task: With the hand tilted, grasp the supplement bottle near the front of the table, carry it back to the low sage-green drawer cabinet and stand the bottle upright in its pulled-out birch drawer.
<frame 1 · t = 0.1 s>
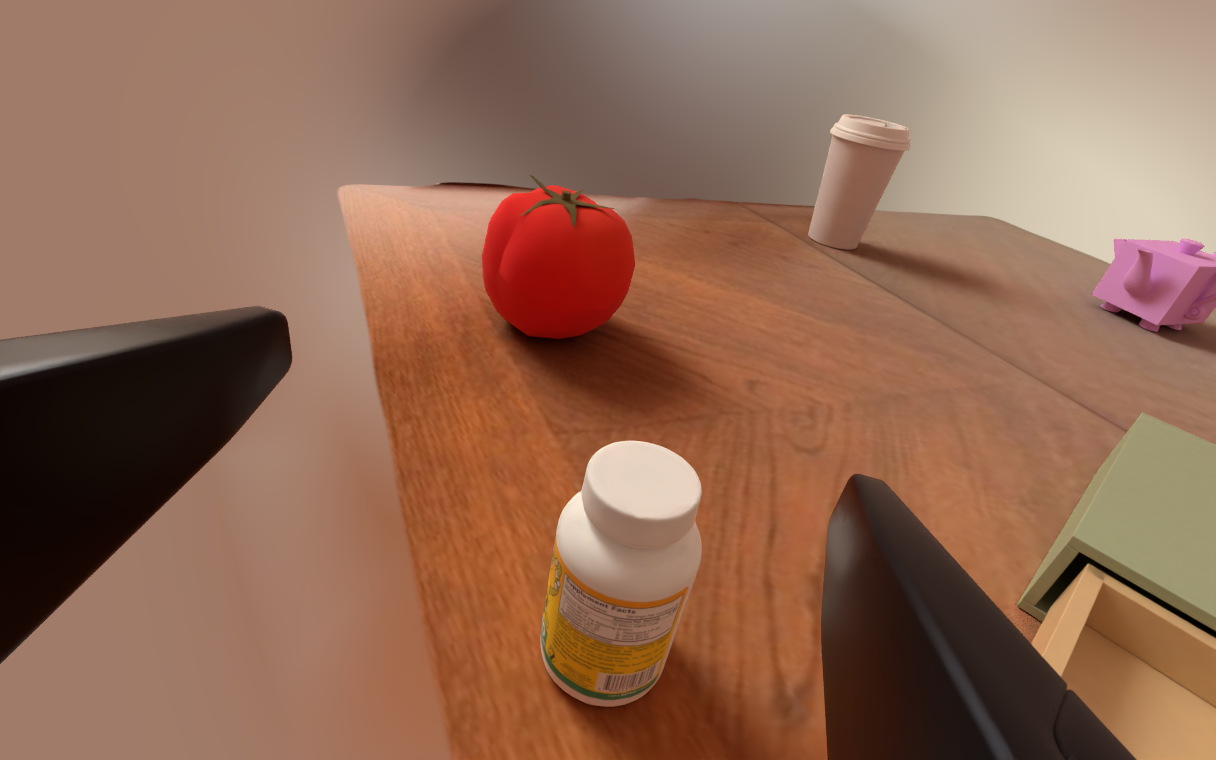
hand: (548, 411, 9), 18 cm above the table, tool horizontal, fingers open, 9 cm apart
cabinet: (1182, 595, 34), on the table
tomato: (550, 328, 49), on the table
teapot: (1133, 316, 75), on the table
supplement bottle: (601, 650, 26), on the table
coffee cup: (831, 241, 82), on the table
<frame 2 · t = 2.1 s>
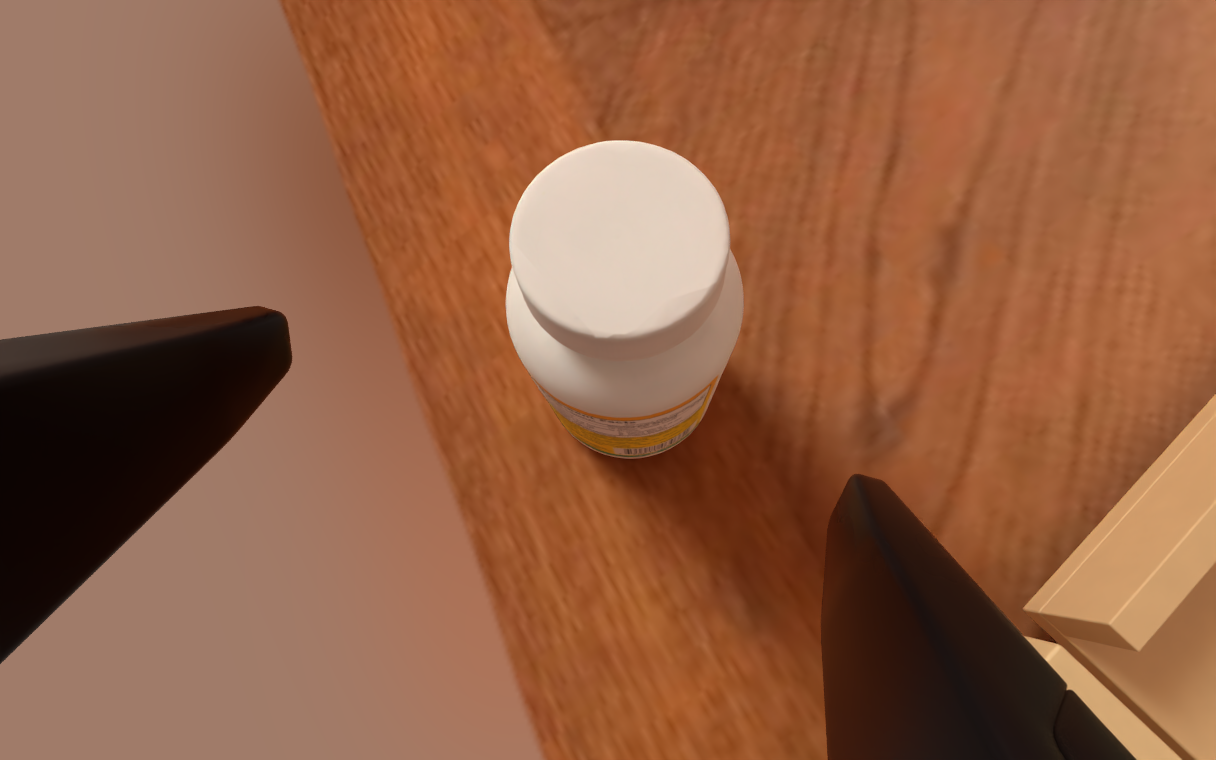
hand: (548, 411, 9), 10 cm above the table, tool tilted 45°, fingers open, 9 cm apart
supplement bottle: (631, 380, 20), on the table
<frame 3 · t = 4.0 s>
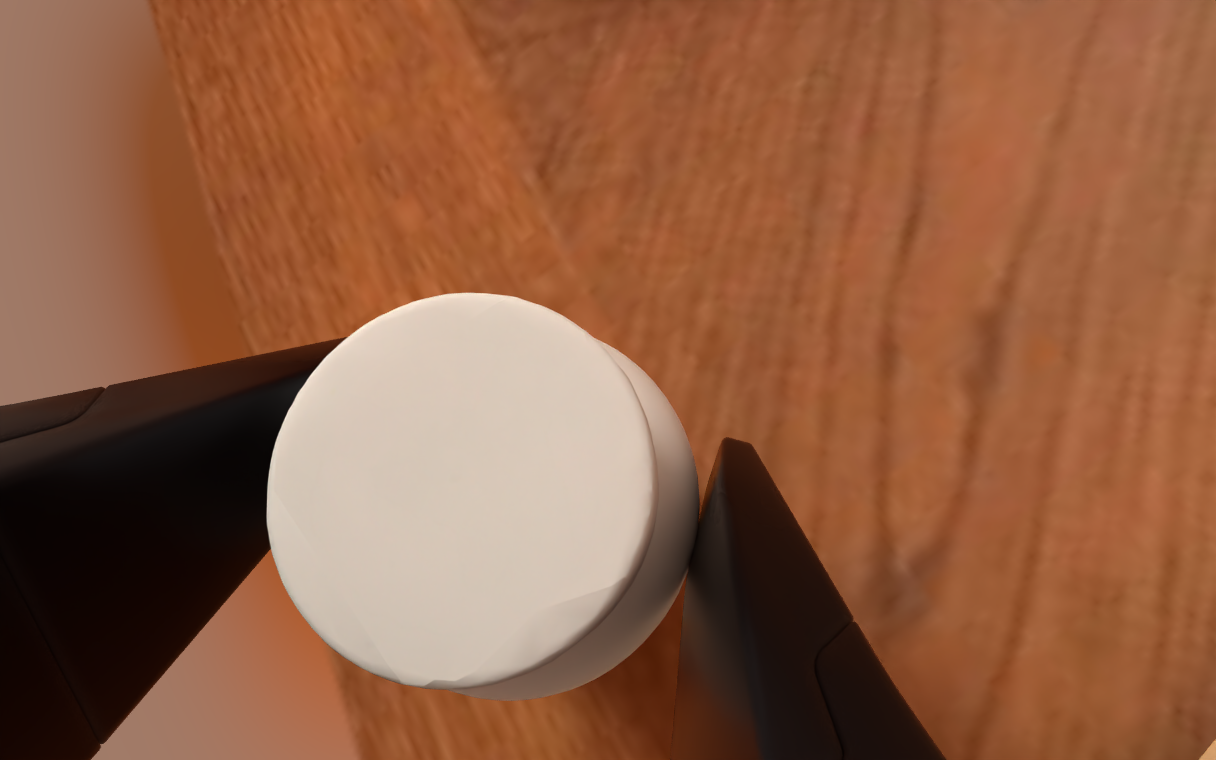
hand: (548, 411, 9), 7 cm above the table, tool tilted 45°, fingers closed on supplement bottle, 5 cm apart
supplement bottle: (572, 517, 15), on the table, touching gripper
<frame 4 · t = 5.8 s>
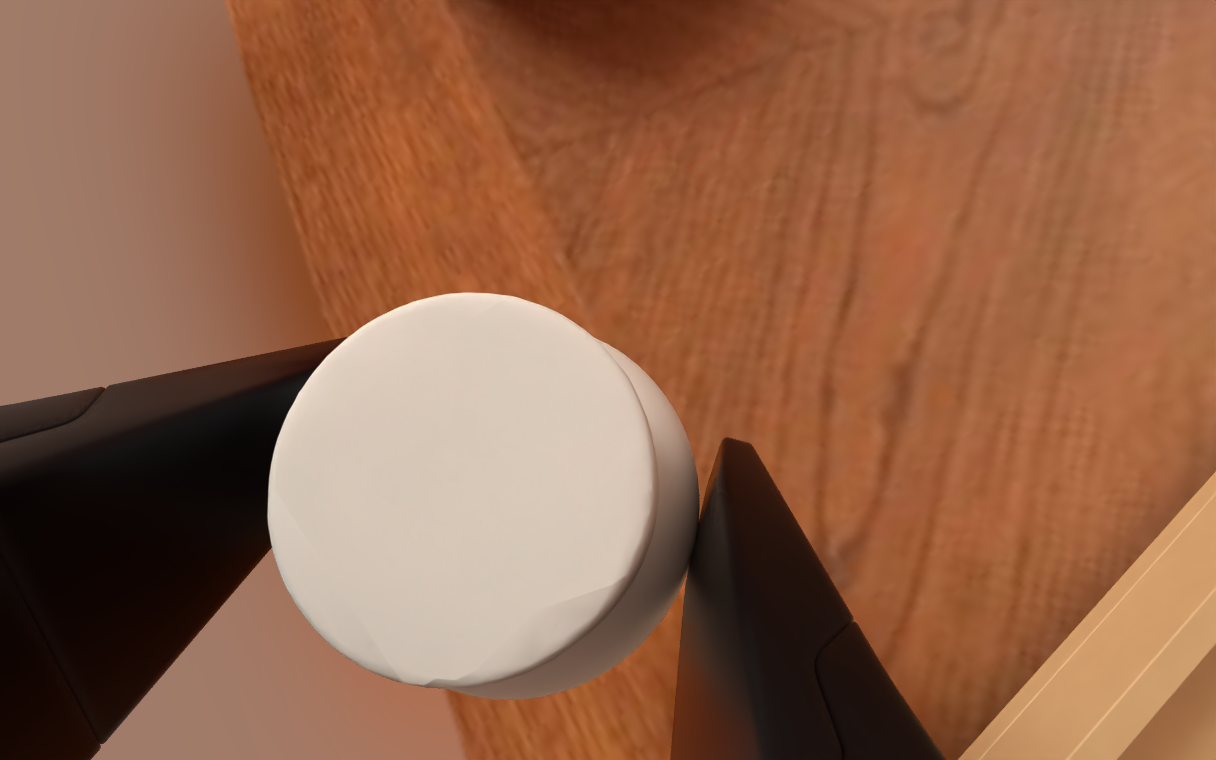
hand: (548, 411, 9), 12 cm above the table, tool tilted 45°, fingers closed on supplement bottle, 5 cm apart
supplement bottle: (572, 516, 16), point 6 cm above the table, touching gripper
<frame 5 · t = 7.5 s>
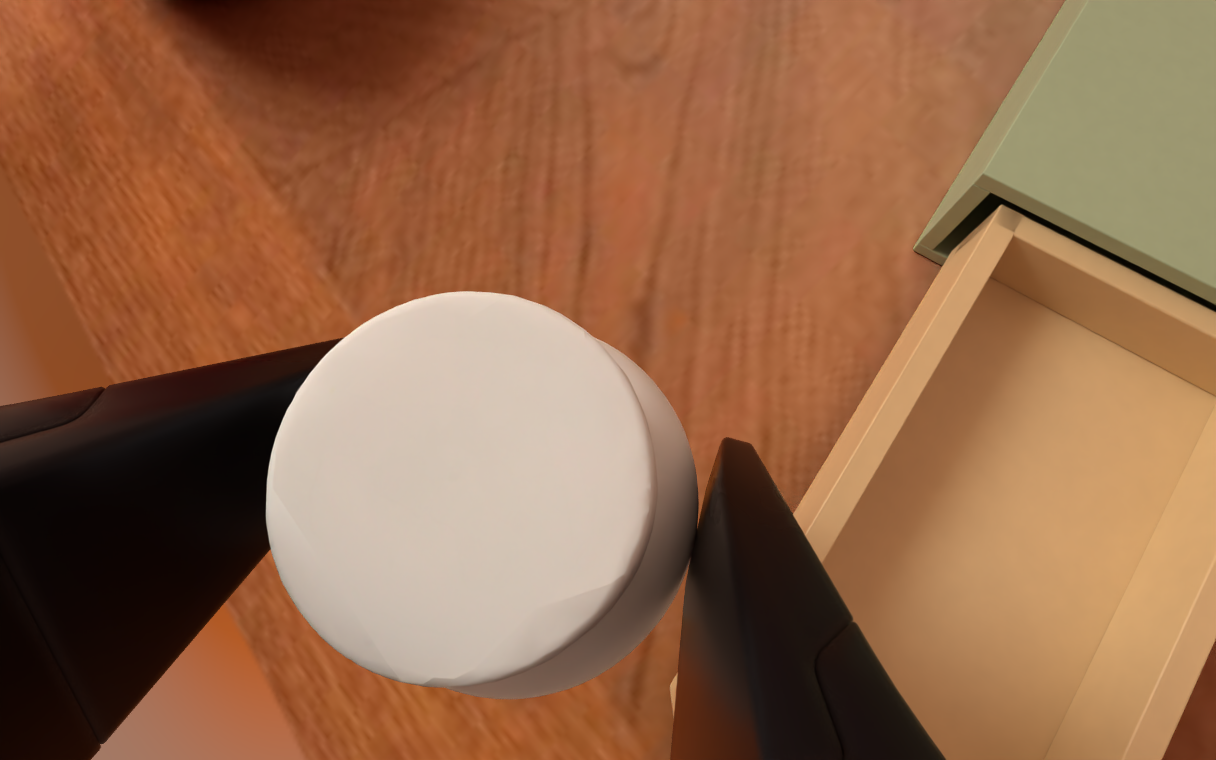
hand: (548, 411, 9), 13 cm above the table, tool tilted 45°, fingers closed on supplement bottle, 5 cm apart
cabinet: (1170, 136, 24), on the table
drawer: (959, 602, 18), point 3 cm above the table, slide at 17.0 cm
supplement bottle: (571, 516, 15), point 7 cm above the table, touching gripper
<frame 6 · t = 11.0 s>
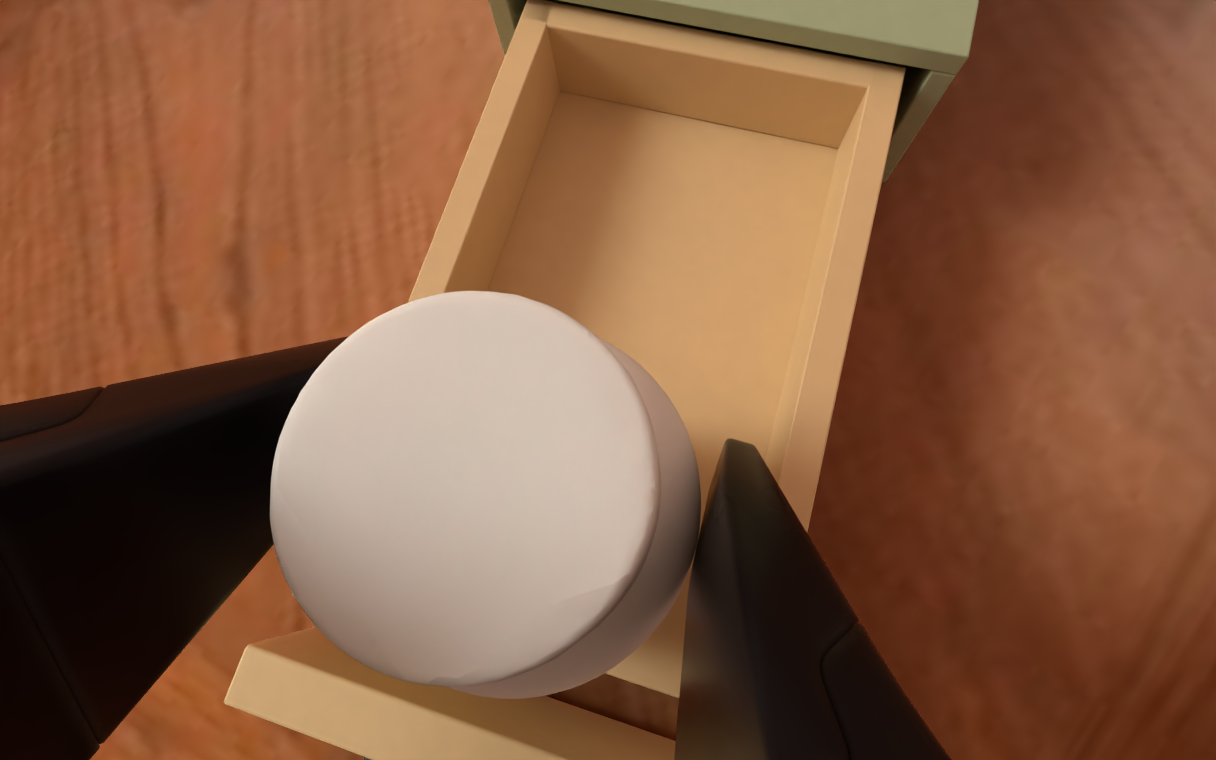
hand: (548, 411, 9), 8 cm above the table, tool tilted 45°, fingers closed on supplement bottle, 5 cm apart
drawer: (590, 452, 15), point 3 cm above the table, slide at 16.8 cm, touching supplement bottle
supplement bottle: (573, 516, 15), point 2 cm above the table, touching drawer, gripper
when the fingers open (8 cm above the table, at t = 11.1 s): supplement bottle stays where it is, resting on drawer.
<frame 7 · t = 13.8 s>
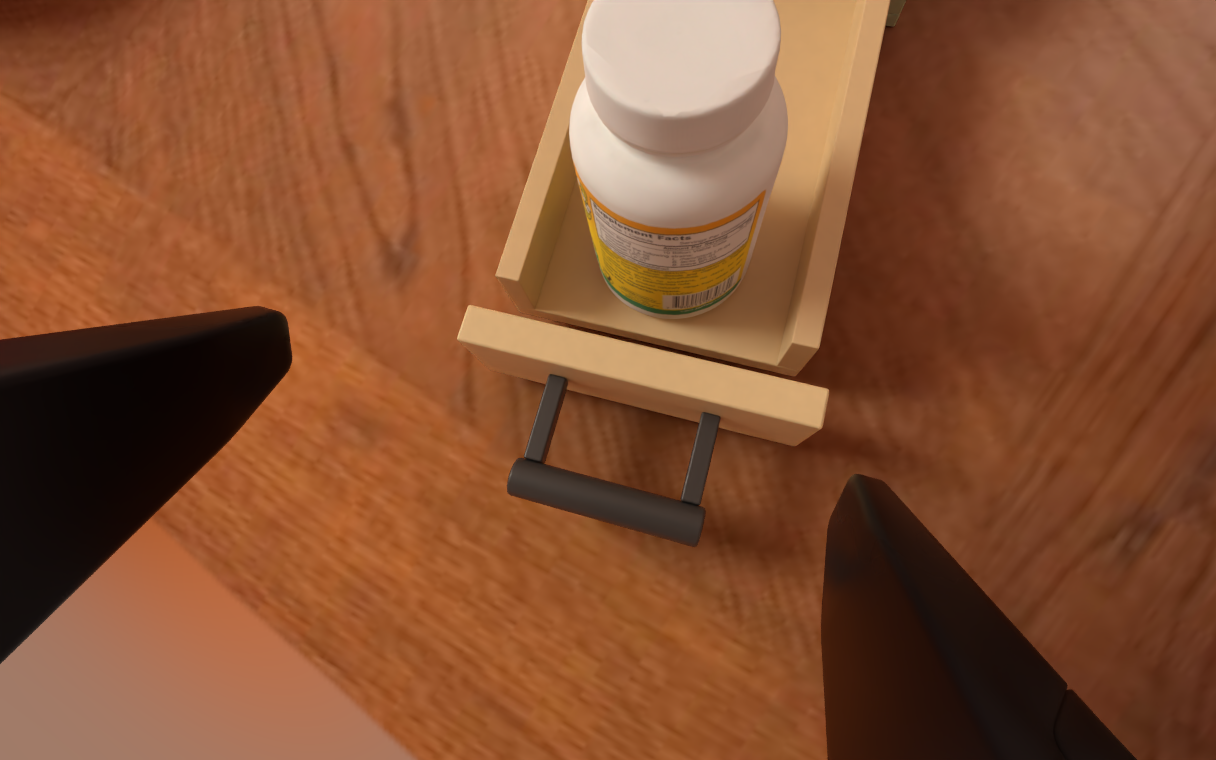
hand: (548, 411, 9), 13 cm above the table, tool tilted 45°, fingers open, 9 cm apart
drawer: (686, 198, 21), point 3 cm above the table, slide at 16.8 cm, touching supplement bottle
supplement bottle: (673, 252, 22), point 2 cm above the table, touching drawer
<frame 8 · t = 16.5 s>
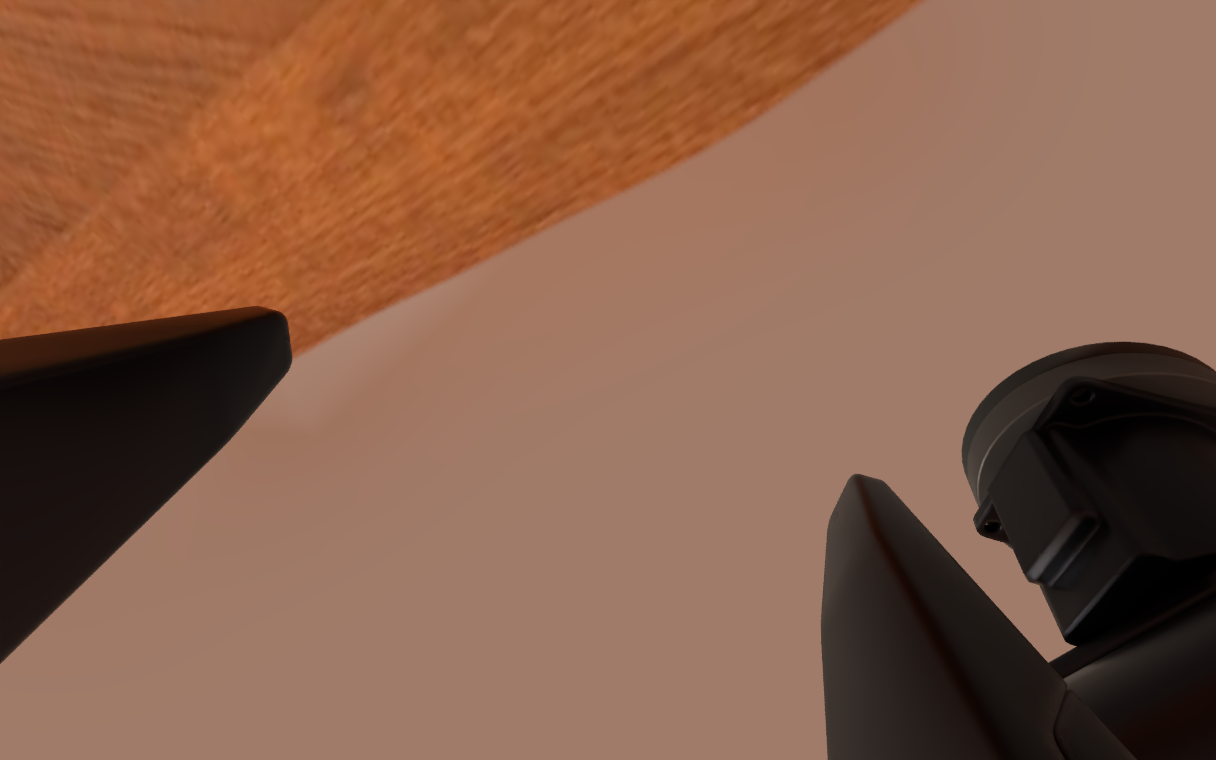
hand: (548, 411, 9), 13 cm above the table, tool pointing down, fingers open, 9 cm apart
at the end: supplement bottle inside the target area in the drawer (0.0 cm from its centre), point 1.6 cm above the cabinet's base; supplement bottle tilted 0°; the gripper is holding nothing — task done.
